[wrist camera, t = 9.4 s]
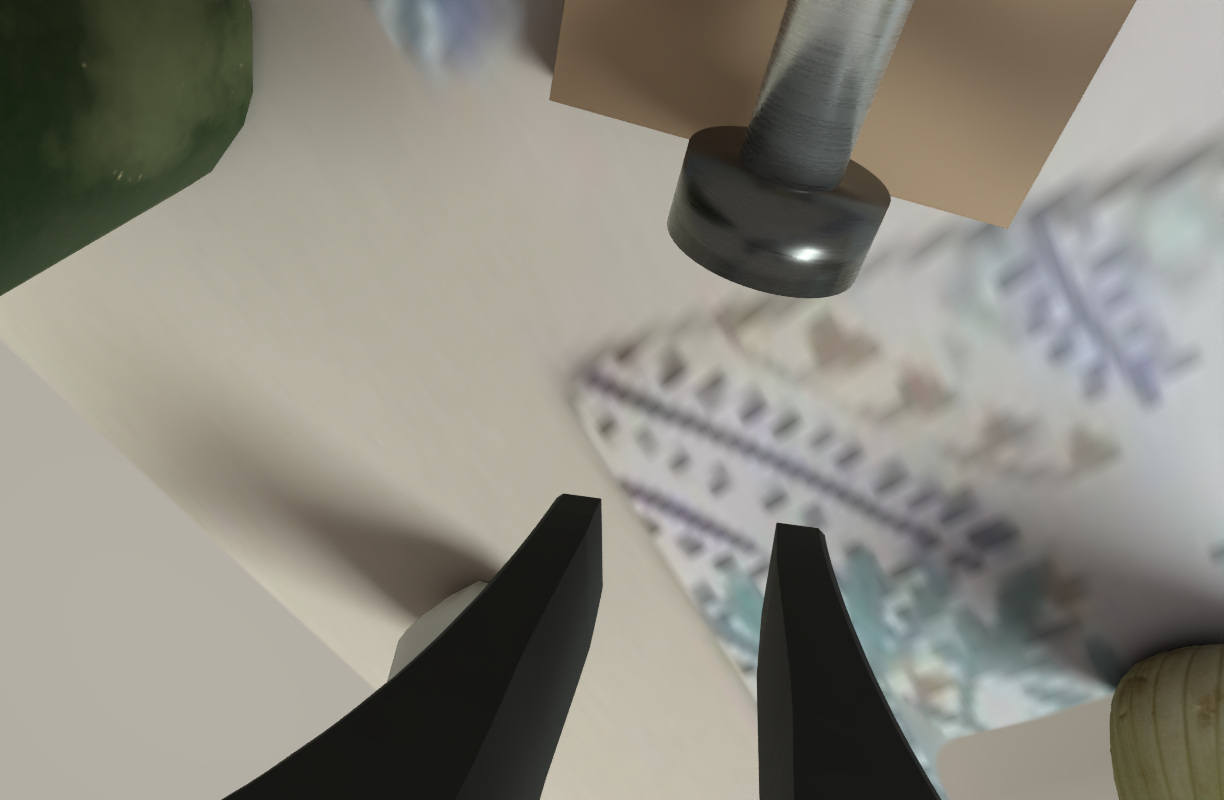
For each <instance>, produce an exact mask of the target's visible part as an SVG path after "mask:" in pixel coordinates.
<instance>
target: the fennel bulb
mask: <svg viewBox="0 0 1224 800" xmlns="http://www.w3.org/2000/svg"><path fill="white" fill-rule="evenodd" d="M1110 745H1111V748H1110V752H1111V756H1112V765H1113V772H1114V780H1115V784H1116V788H1117V792H1118V797H1119V800H1224V645H1223V644H1209V645H1203V646H1197V645H1193V646H1191V647H1189V646H1186V647H1183V648H1179V649H1173V650H1171V651H1168V652H1161V653H1158V654H1156V655H1154V656H1151V657H1148V658H1146V659H1144V660H1142V661H1140V662H1138V663H1136V664H1134V666H1133V667H1132V668H1131V669H1130V670H1129V671H1128V672H1127V673H1126V674H1125V675H1124V676H1123V677H1122V678H1121V681H1120V682H1119V684H1118V686H1117V688H1116V691H1115V693H1114V696H1113V699H1112V704H1111V714H1110Z"/></svg>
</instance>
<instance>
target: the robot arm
mask: <svg viewBox="0 0 1224 800" xmlns="http://www.w3.org/2000/svg"><path fill="white" fill-rule="evenodd" d="M602 588H603V581H602V515H601V499H599V498H592V497H585V496H577V495H570V494H562V495H560V496H559V497H557V498H556V500H555V501H554V503H553V504H552V505H551V507H550V508H549V510H548V511H547V512H546V514H545V515H544V516H543V518H542V519H541V520H540V522H539V523H538V524H537V526H536V527H535V528H534V530H533V531H532V532H531V534H530V535H529V536H528V537H527V539H526V540H525V541H524V542H523V544H522V545H521V546H520V547H519V548H518V550H517V551H516V552H515V553H514V555H513V556H512V557H511V558H510V559H509V561H508V562H507V563H506V564H505V565H504V566H503V567H502V569H501V570H500V571H499V572H498V573H497V574H496V575H495V577H494V578H493V579H492V580H491V581H490V582H489V584H488V585H487V586H486V587H485V588H484V589H483V590H482V591H481V592H480V594H479V595H478V596H477V597H476V598H475V599H474V600H473V601H472V602H471V603H470V604H469V605H468V606H467V607H466V608H465V609H464V610H463V611H462V612H461V613H460V614H459V615H458V616H457V617H456V619H455V620H454V621H453V622H452V623H451V624H450V625H449V626H448V627H447V628H446V629H445V630H444V631H443V632H442V633H441V634H440V635H439V636H438V637H437V638H436V639H435V640H434V641H432V642H431V643H430V644H429V645H428V646H427V647H426V648H425V649H424V650H423V651H422V652H421V653H420V654H419V655H418V656H416V657H415V658H414V659H413V660H412V661H411V662H410V663H409V664H408V665H406V666H405V667H404V668H403V669H402V670H401V671H400V672H398V673H397V674H396V675H395V676H394V677H393V678H392V679H390V680H389V681H388V682H387V683H386V684H384V685H383V686H382V687H381V688H379V689H378V690H377V691H376V692H375V693H373V694H372V695H371V696H370V697H368V698H367V699H366V700H365V701H363V702H362V703H361V704H360V705H358V706H357V707H356V708H355V709H353V710H352V711H351V712H350V713H349V714H347V715H346V716H344V717H343V718H342V719H341V720H339V721H338V722H337V723H335V724H334V725H333V726H331V727H330V728H329V729H327V730H326V731H325V732H323V733H322V734H320V735H319V736H317V737H316V738H314V739H313V740H312V741H310V742H309V743H307V744H306V745H305V746H303V747H302V748H300V749H299V750H297V751H296V752H294V753H293V754H291V755H290V756H289V757H287V758H286V759H284V760H283V761H281V762H280V763H279V764H277V765H276V766H274V767H273V768H271V769H270V770H269V771H267V772H265V773H264V774H262V775H261V776H259V777H258V778H256V779H254V780H253V781H251V782H250V783H248V784H247V785H245V786H243V787H242V788H240V789H238V790H237V791H235V792H233V793H232V794H230V795H228V796H227V797H225V798H224V799H222V800H540V797H541V793H542V790H543V786H544V783H545V780H546V777H547V774H548V771H549V768H550V765H551V762H552V759H553V756H554V753H555V750H556V747H557V744H558V741H559V738H560V735H561V732H562V729H563V726H564V723H565V720H566V717H567V714H568V711H569V708H570V706H571V703H572V700H573V697H574V694H575V691H576V688H577V685H578V682H579V679H580V676H581V673H582V670H583V667H584V664H585V661H586V657H587V654H588V651H589V648H590V644H591V639H592V635H593V630H594V626H595V622H596V617H597V612H598V607H599V602H600V598H601V593H602ZM757 709H758V754H759V796H760V800H941V798H940V797H939V795H938V793H937V792H936V790H935V788H934V787H933V785H932V784H931V782H930V780H929V778H928V777H927V775H926V773H925V771H924V770H923V768H922V766H921V764H920V763H919V761H918V759H917V758H916V756H915V754H914V752H913V751H912V749H911V747H910V745H909V743H908V741H907V740H906V738H905V736H904V734H903V732H902V730H901V728H900V726H899V724H898V723H897V721H896V719H895V717H894V715H893V713H892V711H891V709H890V707H889V705H888V703H887V701H886V699H885V697H884V694H883V692H882V690H881V688H880V686H879V684H878V682H877V680H876V678H875V676H874V673H873V671H872V669H871V667H870V665H869V662H868V660H867V658H866V655H865V653H864V651H863V648H862V646H861V643H860V641H859V639H858V636H857V634H856V632H855V629H854V627H853V624H852V622H851V619H850V617H849V614H848V611H847V609H846V606H845V603H844V600H843V598H842V595H841V592H840V589H839V586H838V583H837V580H836V577H835V574H834V571H833V567H832V564H831V560H830V557H829V553H828V549H827V545H826V540H825V535H824V534H823V533H822V532H821V531H820V530H819V528H812V527H805V526H798V525H790V524H783V523H777V524H776V530H775V536H774V542H773V548H772V554H771V560H770V566H769V572H768V578H767V584H766V590H765V597H764V603H763V609H762V617H761V629H760V642H759V654H758V667H757Z"/></svg>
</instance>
